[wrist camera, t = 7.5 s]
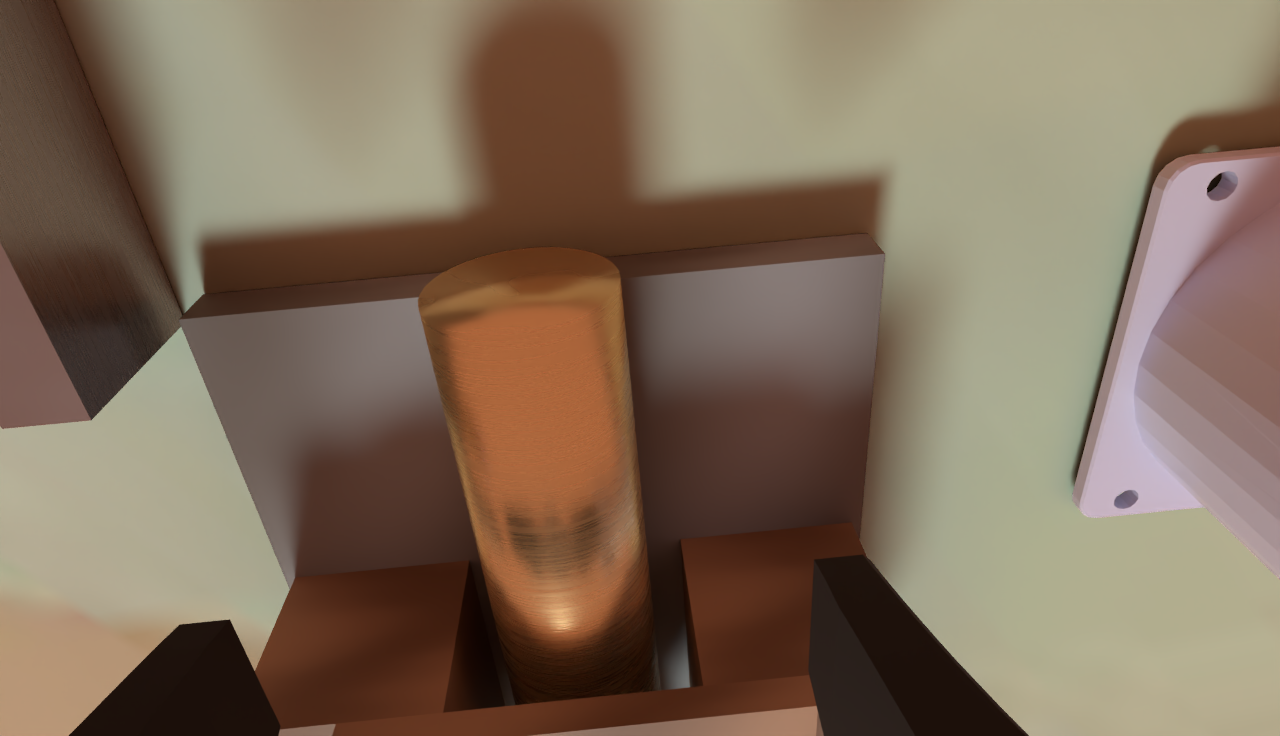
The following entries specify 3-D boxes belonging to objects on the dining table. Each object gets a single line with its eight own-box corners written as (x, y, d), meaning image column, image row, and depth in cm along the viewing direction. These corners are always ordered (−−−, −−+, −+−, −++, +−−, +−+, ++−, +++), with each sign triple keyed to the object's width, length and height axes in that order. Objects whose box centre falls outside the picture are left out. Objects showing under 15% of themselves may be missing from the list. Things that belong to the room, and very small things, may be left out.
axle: (617, 239, 13) (624, 321, 10) (667, 756, 20) (679, 881, 18) (436, 256, 13) (398, 343, 10) (550, 768, 20) (544, 895, 18)
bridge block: (867, 233, 14) (995, 379, 10) (827, 744, 22) (890, 958, 17) (202, 294, 14) (27, 474, 10) (395, 789, 22) (346, 1018, 17)
